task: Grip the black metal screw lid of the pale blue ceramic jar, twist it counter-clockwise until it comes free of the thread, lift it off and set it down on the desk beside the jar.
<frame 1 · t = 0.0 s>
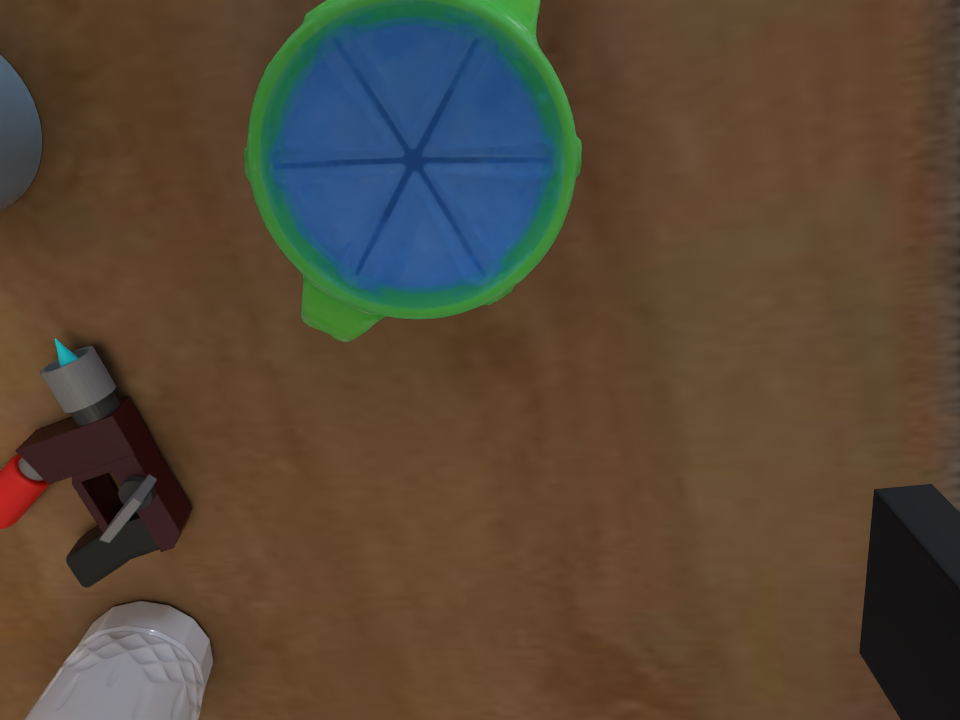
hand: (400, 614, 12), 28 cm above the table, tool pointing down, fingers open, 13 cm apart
toy gun: (74, 455, 42), on the table
snack cup: (425, 124, 37), on the table
white cup: (152, 647, 47), on the table
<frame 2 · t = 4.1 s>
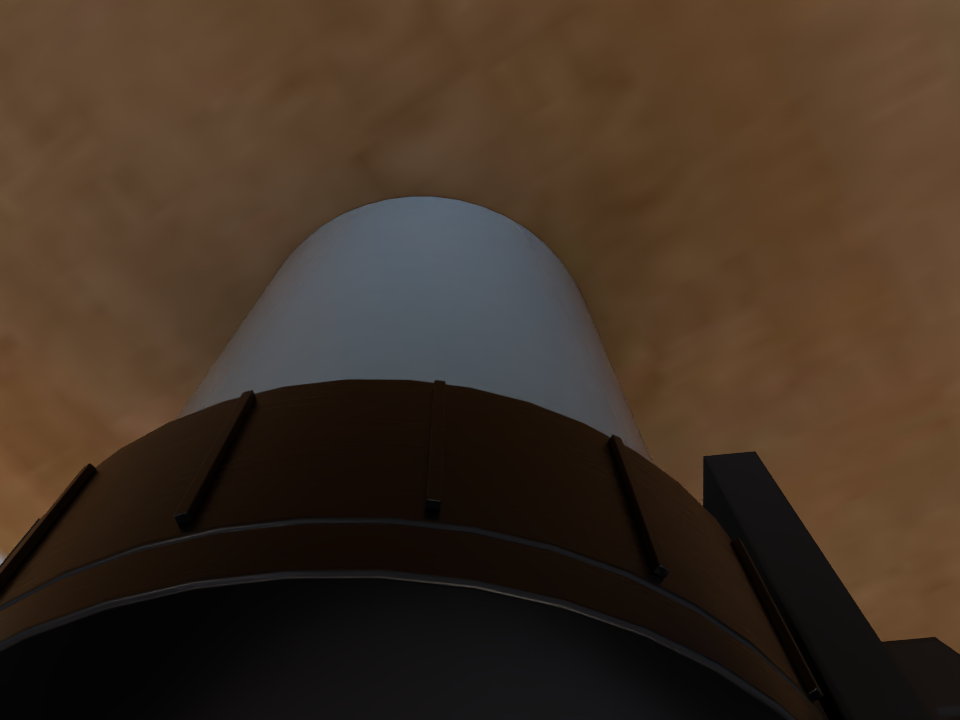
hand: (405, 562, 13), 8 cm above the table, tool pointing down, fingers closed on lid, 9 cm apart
jar: (425, 365, 20), on the table
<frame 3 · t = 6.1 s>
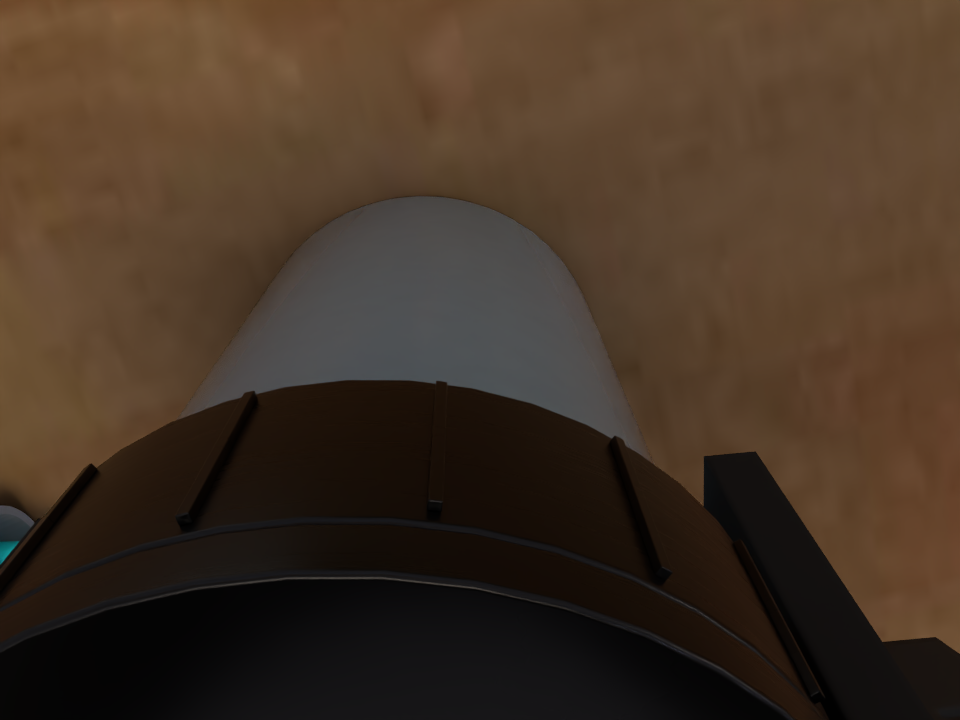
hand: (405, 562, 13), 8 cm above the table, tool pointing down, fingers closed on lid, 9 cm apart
jar: (426, 364, 20), on the table
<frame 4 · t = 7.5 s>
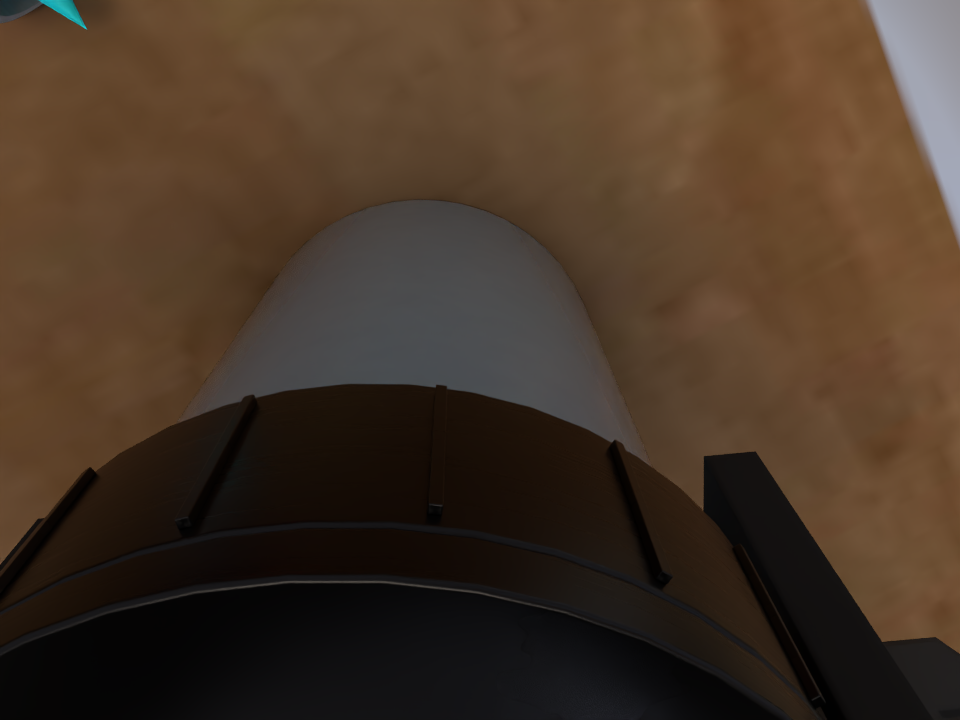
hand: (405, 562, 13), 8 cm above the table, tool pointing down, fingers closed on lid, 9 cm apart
jar: (425, 367, 21), on the table
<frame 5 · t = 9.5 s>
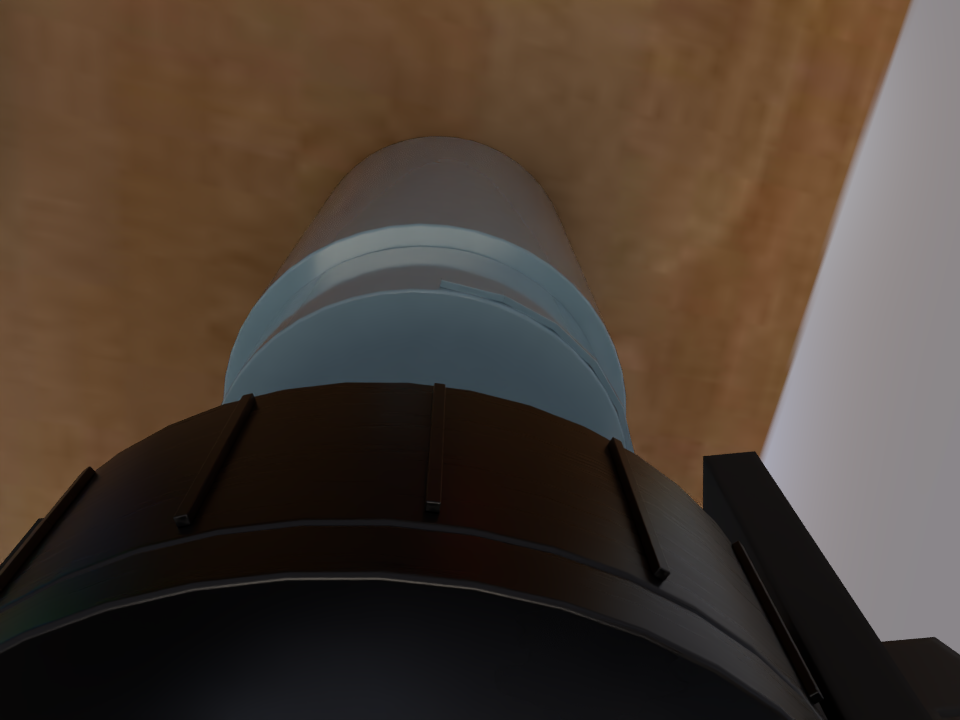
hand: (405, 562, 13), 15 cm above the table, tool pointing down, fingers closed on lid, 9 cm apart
jar: (440, 265, 27), on the table
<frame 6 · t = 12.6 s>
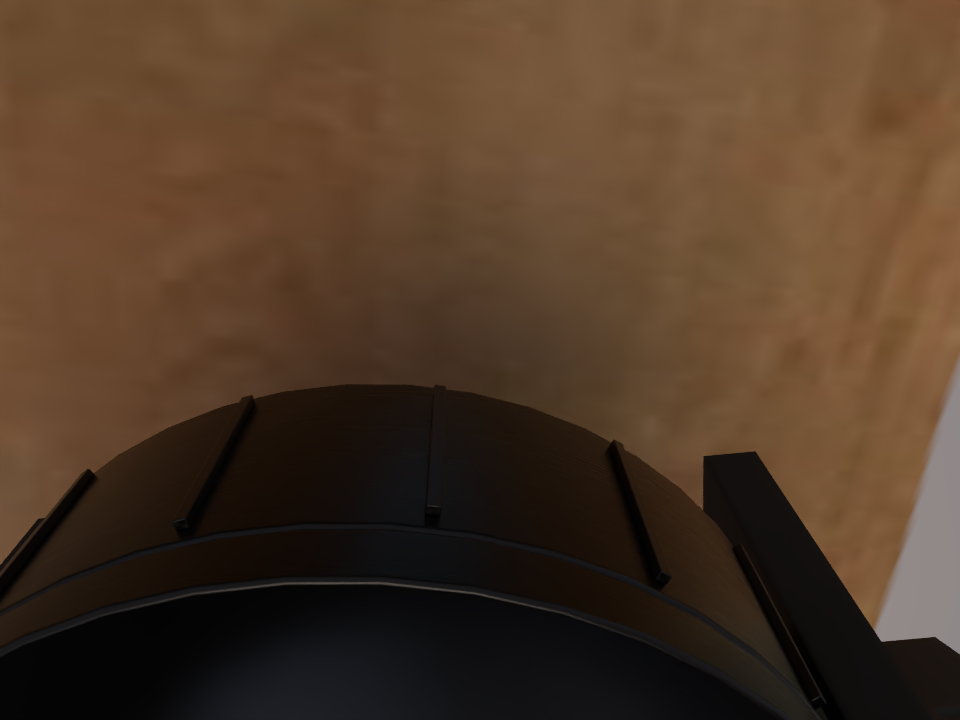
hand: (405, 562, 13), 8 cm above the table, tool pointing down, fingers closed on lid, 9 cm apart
when the fingers open (0 cm above the table, at t = 15.1 s): lid drops 3 cm, point 2 cm above the table.
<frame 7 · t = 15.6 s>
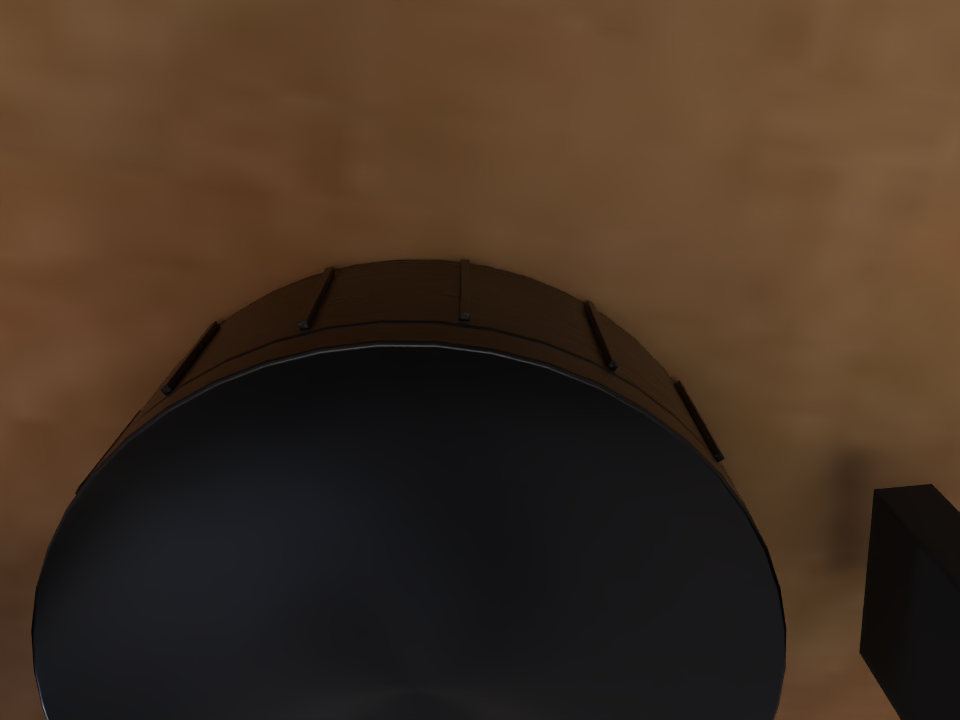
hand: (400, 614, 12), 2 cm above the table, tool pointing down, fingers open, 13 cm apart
lid: (415, 655, 11), point 2 cm above the table, off its thread
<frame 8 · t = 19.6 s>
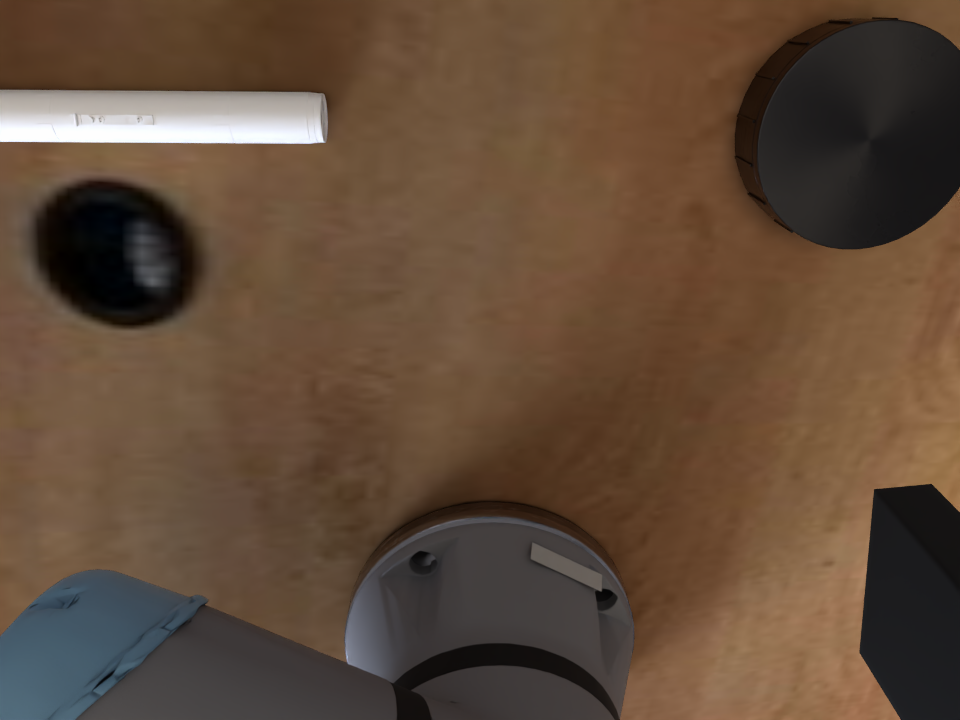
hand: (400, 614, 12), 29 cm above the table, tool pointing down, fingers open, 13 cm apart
marker: (117, 113, 37), on the table
lid: (863, 138, 36), point 2 cm above the table, off its thread
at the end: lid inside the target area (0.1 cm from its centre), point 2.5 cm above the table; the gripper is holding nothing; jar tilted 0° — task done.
